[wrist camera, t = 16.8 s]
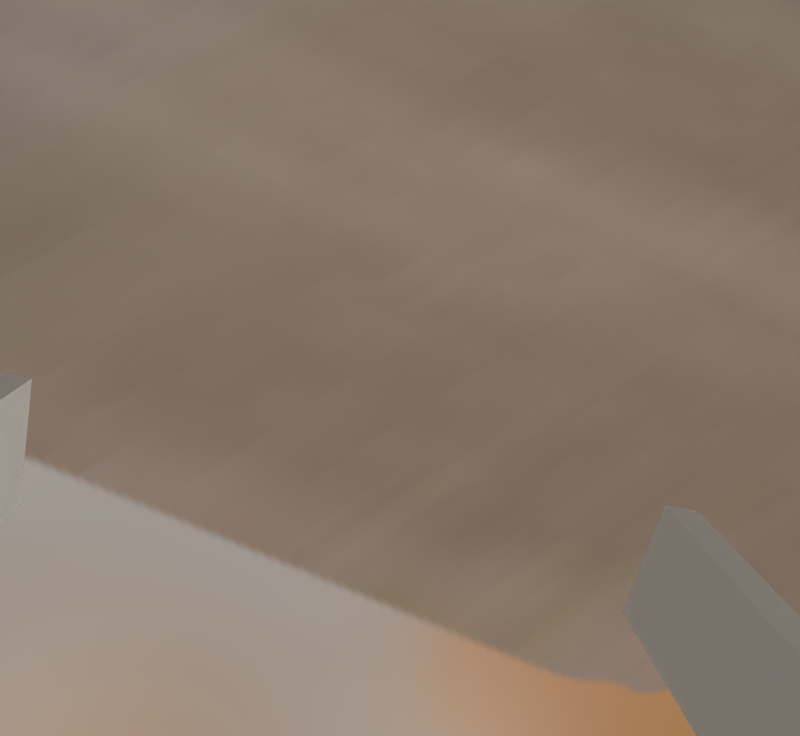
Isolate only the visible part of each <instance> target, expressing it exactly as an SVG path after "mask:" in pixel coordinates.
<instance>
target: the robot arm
mask: <svg viewBox="0 0 800 736" xmlns="http://www.w3.org/2000/svg"><path fill="white" fill-rule="evenodd" d="M31 382H32V379H31V378H26V377H21V376H16V375H11V374H6V373H1V372H0V525H1V524H2V523H3V522H4V521H5V520H6V519H7V518H8V517H9V516H10V515H11V514H12V513H13V512H14V511H15V510H16V509H17V508H18V507H19V506H20V502H21V491H22V481H23V469H24V459H25V448H26V437H27V426H28V415H29V404H30V393H31ZM623 612H624V613H625V615H626V617H627V618H628V620H629V622H630V624H631V625H632V627H633V629H634V630H635V632H636V634H637V636H638V637H639V639H640V641H641V642H642V644H643V646H644V647H645V649H646V651H647V653H648V654H649V656H650V658H651V659H652V661H653V663H654V664H655V666H656V668H657V670H658V671H659V673H660V675H661V676H662V678H663V680H664V681H665V683H666V685H667V687H668V688H669V690H670V692H671V693H672V695H673V697H674V698H675V700H676V702H677V703H678V705H679V707H680V709H681V710H682V712H683V713H684V715H685V717H686V719H687V721H688V722H689V724H690V726H691V727H692V729H693V731H694V733H695V734H696V736H800V616H799V615H798V614H797V613H796V612H795V611H794V610H793V609H792V608H791V607H790V606H789V605H788V604H787V603H786V602H785V601H784V600H783V599H782V598H781V597H780V596H779V595H778V594H777V593H776V592H775V590H774V589H773V588H772V587H771V586H770V585H769V584H768V583H767V582H766V581H765V580H764V579H763V578H762V577H761V576H760V575H759V574H758V573H757V572H756V571H755V570H754V569H753V568H752V567H751V566H750V565H749V564H748V563H747V562H746V561H745V559H744V558H743V557H742V556H741V555H740V554H739V553H738V552H737V551H736V550H735V549H734V548H733V547H732V546H731V545H730V544H729V543H728V542H727V541H726V540H725V539H724V538H723V537H722V536H721V535H720V534H719V533H718V532H717V531H716V529H715V528H714V527H713V526H712V525H711V524H710V523H709V522H708V521H707V520H706V519H705V518H704V517H703V516H702V515H701V514H700V513H699V512H698V511H695V510H690V509H685V508H680V507H675V506H670V505H665V506H664V509H663V511H662V514H661V516H660V519H659V522H658V524H657V527H656V529H655V532H654V534H653V537H652V539H651V542H650V544H649V547H648V550H647V552H646V555H645V557H644V560H643V562H642V565H641V567H640V570H639V572H638V575H637V577H636V580H635V583H634V585H633V588H632V590H631V593H630V595H629V598H628V600H627V603H626V605H625V608H624V611H623Z"/></svg>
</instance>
